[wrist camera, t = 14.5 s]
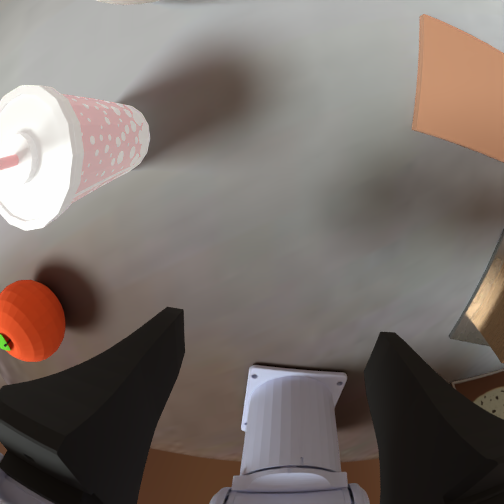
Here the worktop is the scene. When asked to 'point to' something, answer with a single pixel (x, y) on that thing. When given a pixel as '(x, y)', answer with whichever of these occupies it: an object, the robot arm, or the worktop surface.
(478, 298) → the tan block on plate
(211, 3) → the worktop surface
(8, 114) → the beverage cup
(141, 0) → the lidded jar
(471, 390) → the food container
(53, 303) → the clementine
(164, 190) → the worktop surface
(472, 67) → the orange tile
